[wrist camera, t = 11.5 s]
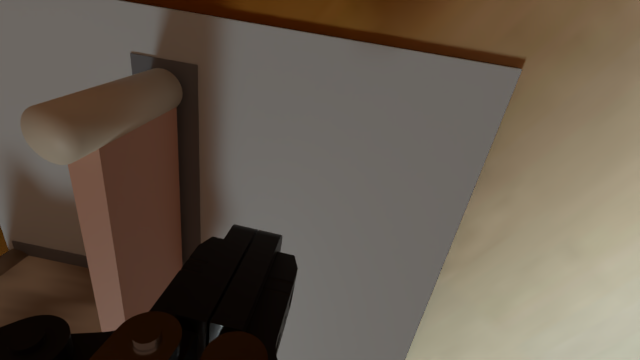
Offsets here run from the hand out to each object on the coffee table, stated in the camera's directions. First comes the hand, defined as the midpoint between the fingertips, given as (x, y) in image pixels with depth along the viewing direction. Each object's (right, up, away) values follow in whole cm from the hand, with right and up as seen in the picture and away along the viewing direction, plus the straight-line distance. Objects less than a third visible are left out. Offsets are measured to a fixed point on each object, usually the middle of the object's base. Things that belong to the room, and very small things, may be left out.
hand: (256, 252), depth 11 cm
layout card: (-4, 0, +8) cm, 9 cm away
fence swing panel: (-6, +2, +7) cm, 9 cm away
